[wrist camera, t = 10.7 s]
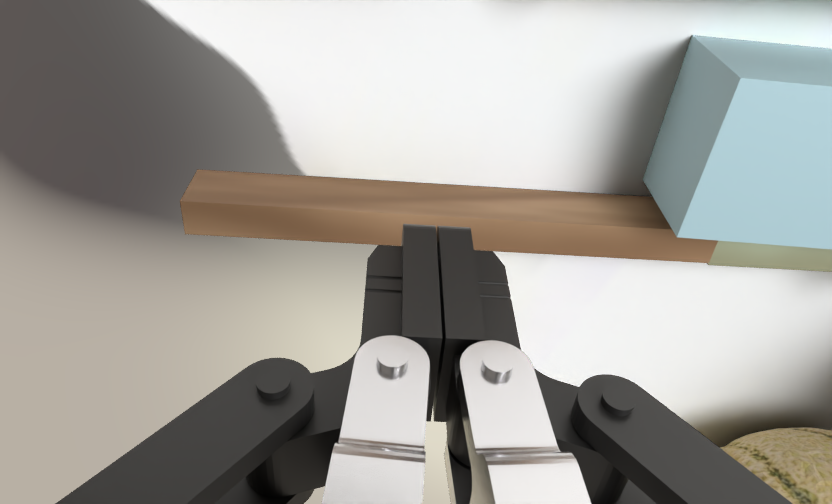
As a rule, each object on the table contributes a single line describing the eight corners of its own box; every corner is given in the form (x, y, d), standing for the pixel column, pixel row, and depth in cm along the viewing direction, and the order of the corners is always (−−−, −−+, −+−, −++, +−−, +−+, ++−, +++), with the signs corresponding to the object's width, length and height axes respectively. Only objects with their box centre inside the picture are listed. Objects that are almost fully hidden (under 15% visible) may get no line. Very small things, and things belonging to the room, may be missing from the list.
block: (690, 33, 24) (740, 77, 20) (947, 58, 24) (1042, 106, 21) (640, 176, 27) (676, 237, 24) (867, 195, 28) (936, 257, 24)
